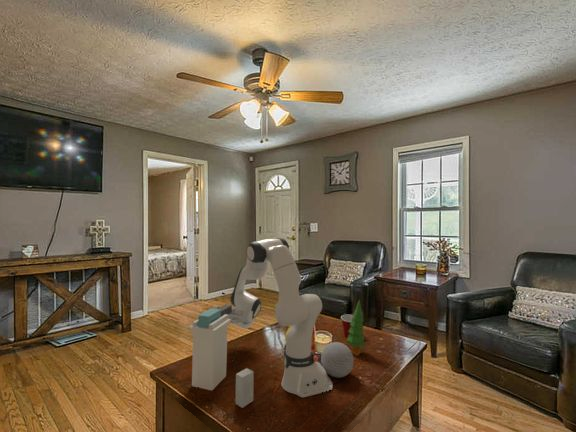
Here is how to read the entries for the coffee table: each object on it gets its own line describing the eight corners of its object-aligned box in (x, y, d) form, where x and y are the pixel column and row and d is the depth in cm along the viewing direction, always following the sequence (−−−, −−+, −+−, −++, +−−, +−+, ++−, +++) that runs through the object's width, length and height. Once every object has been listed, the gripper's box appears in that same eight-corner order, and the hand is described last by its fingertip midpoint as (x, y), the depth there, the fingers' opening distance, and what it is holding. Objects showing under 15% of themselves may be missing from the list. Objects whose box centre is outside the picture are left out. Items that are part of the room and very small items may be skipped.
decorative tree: (365, 357, 158) (367, 301, 157) (348, 356, 158) (349, 300, 158) (361, 349, 167) (363, 296, 167) (344, 348, 168) (346, 295, 167)
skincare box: (246, 396, 121) (246, 367, 121) (253, 401, 118) (254, 371, 118) (234, 403, 116) (235, 373, 116) (242, 408, 114) (242, 377, 114)
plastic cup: (339, 338, 181) (339, 319, 181) (341, 332, 191) (341, 313, 191) (357, 341, 178) (357, 321, 178) (358, 334, 188) (358, 315, 188)
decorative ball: (353, 370, 144) (354, 339, 144) (351, 387, 130) (353, 353, 130) (322, 365, 148) (324, 335, 148) (317, 380, 134) (319, 347, 134)
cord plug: (223, 311, 148) (224, 301, 148) (232, 312, 146) (233, 302, 146) (198, 326, 127) (198, 315, 127) (208, 328, 125) (208, 316, 125)
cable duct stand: (206, 370, 140) (208, 311, 140) (229, 375, 137) (230, 315, 137) (188, 386, 127) (189, 321, 127) (212, 392, 123) (214, 325, 123)
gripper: (221, 307, 161) (209, 300, 149) (255, 311, 154) (246, 305, 143) (217, 319, 158) (205, 313, 146) (253, 324, 151) (243, 318, 140)
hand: (226, 309), depth 144 cm, fingers open, 8 cm apart
